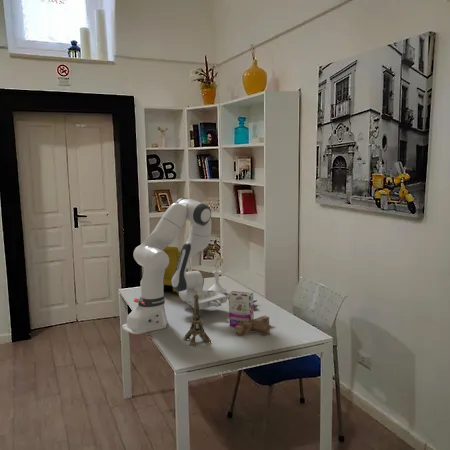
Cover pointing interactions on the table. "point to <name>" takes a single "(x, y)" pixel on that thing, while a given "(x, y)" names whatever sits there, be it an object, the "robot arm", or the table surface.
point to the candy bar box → (240, 307)
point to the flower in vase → (217, 279)
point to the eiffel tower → (194, 329)
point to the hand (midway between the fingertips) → (219, 304)
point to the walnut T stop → (254, 326)
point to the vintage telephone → (171, 266)
